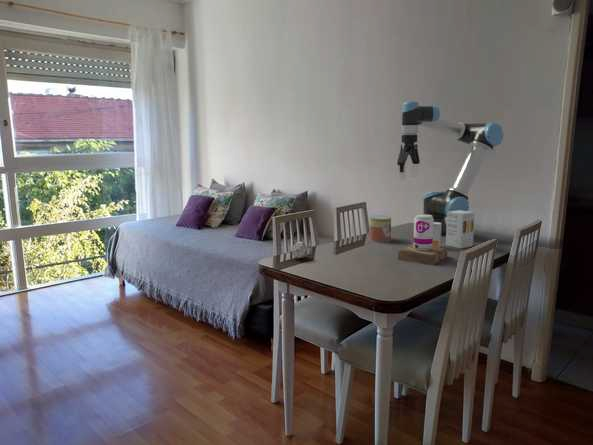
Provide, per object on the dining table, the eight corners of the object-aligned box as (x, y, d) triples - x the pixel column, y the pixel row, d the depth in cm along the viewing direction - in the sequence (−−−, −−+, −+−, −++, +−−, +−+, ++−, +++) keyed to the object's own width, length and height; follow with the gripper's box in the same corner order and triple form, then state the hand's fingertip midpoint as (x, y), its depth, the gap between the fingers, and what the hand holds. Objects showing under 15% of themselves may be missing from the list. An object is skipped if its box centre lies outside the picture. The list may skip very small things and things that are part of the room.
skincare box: (426, 247, 219) (427, 223, 217) (428, 245, 222) (428, 221, 220) (439, 248, 216) (440, 224, 214) (440, 246, 220) (441, 222, 217)
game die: (299, 265, 205) (302, 245, 210) (311, 262, 199) (314, 241, 203) (284, 258, 200) (287, 238, 205) (296, 255, 194) (300, 234, 199)
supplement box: (460, 248, 215) (462, 213, 212) (445, 245, 223) (446, 211, 220) (473, 246, 220) (475, 211, 217) (457, 242, 228) (459, 209, 225)
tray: (413, 251, 211) (413, 243, 210) (447, 256, 201) (447, 248, 200) (397, 259, 199) (398, 250, 198) (433, 264, 189) (433, 255, 188)
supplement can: (429, 252, 194) (430, 217, 191) (410, 250, 198) (411, 216, 195) (434, 248, 200) (436, 214, 198) (416, 246, 205) (417, 213, 202)
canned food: (381, 243, 229) (381, 219, 227) (364, 239, 238) (364, 217, 236) (395, 239, 236) (396, 217, 234) (378, 236, 245) (379, 214, 243)
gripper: (413, 134, 232) (412, 175, 236) (390, 134, 213) (389, 179, 217) (427, 134, 227) (425, 176, 231) (405, 134, 208) (404, 180, 212)
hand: (408, 178), depth 224 cm, fingers open, 13 cm apart
